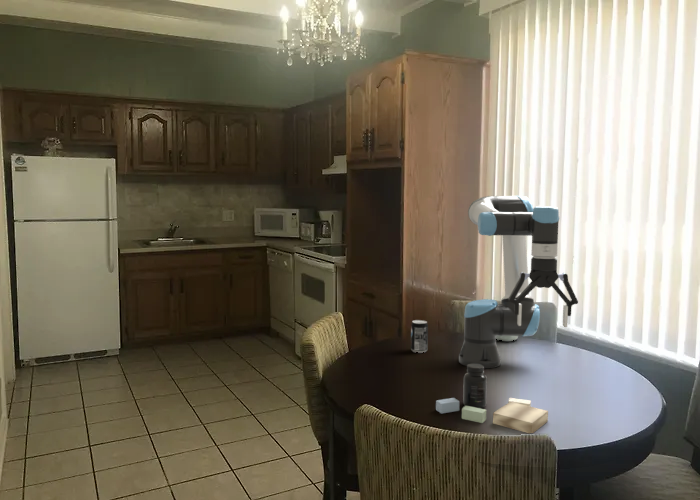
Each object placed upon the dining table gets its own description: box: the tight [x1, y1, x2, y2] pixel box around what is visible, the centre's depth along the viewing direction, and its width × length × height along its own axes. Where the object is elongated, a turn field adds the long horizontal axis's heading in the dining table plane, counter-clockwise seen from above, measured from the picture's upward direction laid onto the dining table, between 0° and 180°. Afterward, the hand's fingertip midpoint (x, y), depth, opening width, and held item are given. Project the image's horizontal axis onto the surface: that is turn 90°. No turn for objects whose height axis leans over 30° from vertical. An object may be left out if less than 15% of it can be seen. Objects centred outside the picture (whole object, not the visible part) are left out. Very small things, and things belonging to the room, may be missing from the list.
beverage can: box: [410, 319, 429, 354], centre depth 229 cm, size 7×7×12 cm
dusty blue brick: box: [435, 397, 460, 414], centre depth 166 cm, size 6×3×3 cm, turn 112°
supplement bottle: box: [462, 363, 488, 409], centre depth 170 cm, size 7×7×12 cm
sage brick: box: [461, 405, 487, 424], centre depth 160 cm, size 6×3×3 cm, turn 58°
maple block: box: [492, 402, 549, 434], centre depth 157 cm, size 11×11×3 cm
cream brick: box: [507, 397, 532, 407], centre depth 166 cm, size 6×3×3 cm, turn 67°
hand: (541, 325), depth 177 cm, fingers open, 13 cm apart
